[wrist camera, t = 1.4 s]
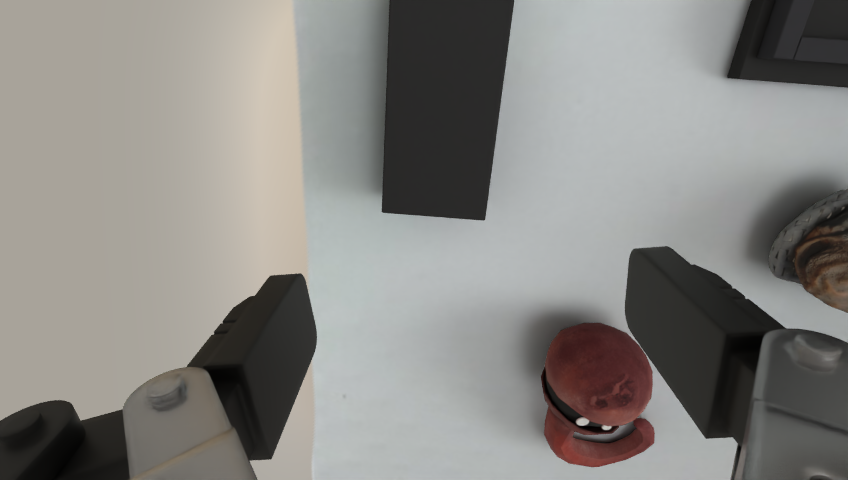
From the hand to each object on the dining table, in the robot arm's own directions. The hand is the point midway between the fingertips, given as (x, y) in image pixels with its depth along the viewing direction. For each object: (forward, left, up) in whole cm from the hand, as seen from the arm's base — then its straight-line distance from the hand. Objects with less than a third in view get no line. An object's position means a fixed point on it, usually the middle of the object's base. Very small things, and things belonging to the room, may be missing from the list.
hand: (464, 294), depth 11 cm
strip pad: (-2, +3, -16) cm, 16 cm away
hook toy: (+18, -7, -16) cm, 25 cm away
